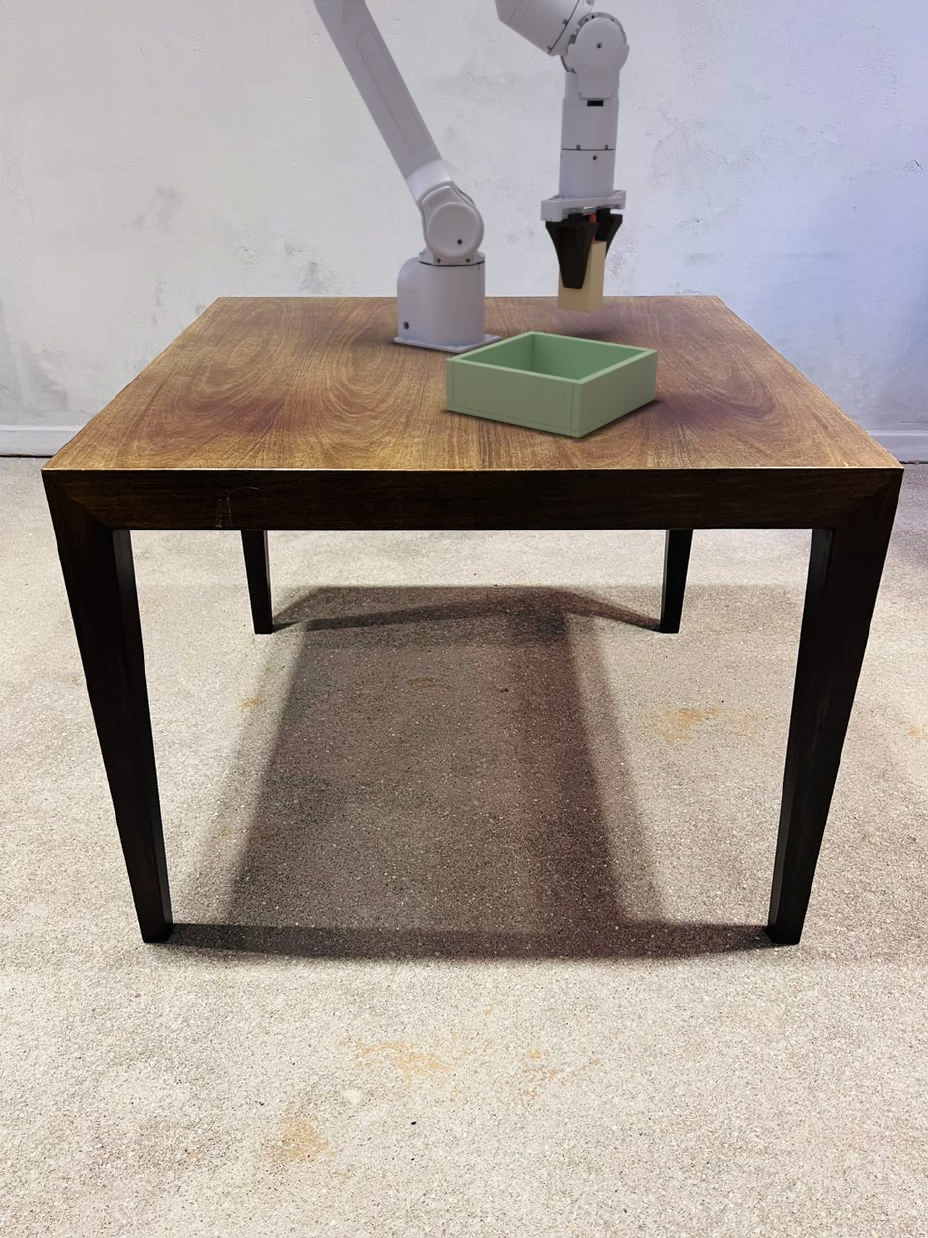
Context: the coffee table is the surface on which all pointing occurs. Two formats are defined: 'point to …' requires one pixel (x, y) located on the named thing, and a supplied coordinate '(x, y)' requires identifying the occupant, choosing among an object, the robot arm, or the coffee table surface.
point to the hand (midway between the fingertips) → (580, 285)
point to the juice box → (586, 282)
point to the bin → (551, 382)
